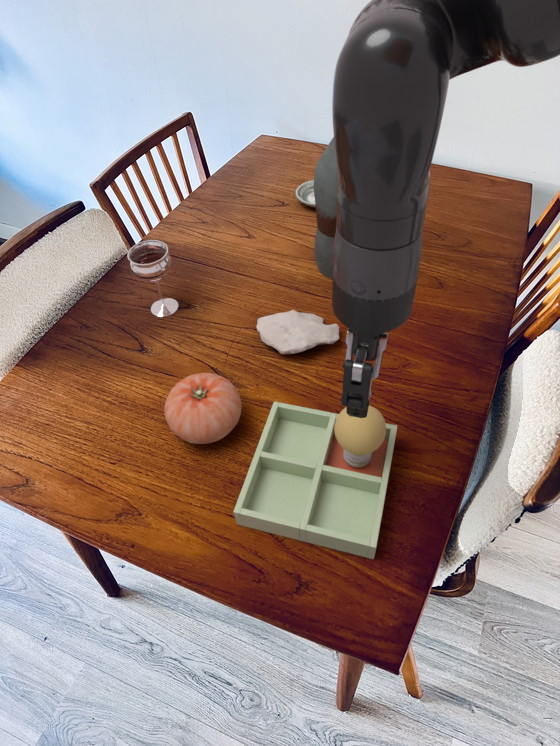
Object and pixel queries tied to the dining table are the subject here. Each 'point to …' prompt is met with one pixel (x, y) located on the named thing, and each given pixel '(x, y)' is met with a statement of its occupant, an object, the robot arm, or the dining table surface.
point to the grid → (314, 483)
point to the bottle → (326, 208)
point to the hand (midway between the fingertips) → (364, 384)
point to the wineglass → (153, 271)
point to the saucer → (306, 193)
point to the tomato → (203, 408)
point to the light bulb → (360, 436)
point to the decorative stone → (295, 331)
